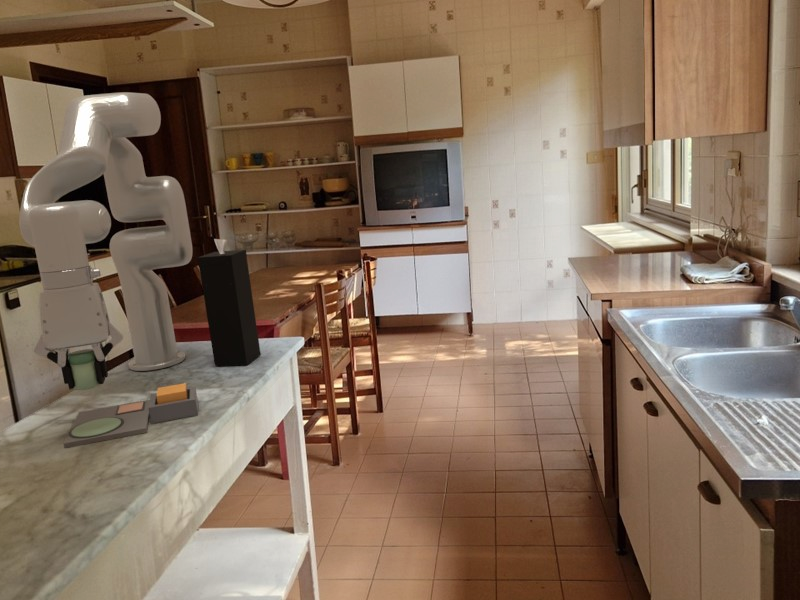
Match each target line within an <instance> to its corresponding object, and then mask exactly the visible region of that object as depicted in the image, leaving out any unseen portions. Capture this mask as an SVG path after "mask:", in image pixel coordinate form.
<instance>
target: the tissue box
mask: <svg viewBox="0 0 800 600" xmlns="http://www.w3.org/2000/svg"><path fill="white" fill-rule="evenodd" d="M213 240H214V243H215V246H216V249H217V251H213V252H210V253H207V254H204V255H201V256H198V257H197V264H198V267H199V274H200V281H201V285H202V292H203V293H202V294H203V299H204V306H205V311H206V312H205V313H206V318H207V324H208V331H209V336H210V337H209V338H210V344H211V349H212V356H213V362H214V366H215V367H225V366H227V367H230V366H231V367H232V366H247V365H248V366H249V365H250V364H251V363H252V362H254V361H255V360H256V359H258V358H259V357H260V356H261V348H260V342H259V333H258V326H257V320H256V319H257V318H256V311H255V306H254V300H253V293H252V292H253V291H252V285H251V278H250V273H249V272H250V270H249V264H248V259H247V258H248V255H247V249H238V250H236V249H235V250H226V247H227V243H228V239H223V238H218V239H217V238H214V239H213Z"/></svg>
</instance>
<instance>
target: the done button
mask: <svg viewBox="0 0 800 600" xmlns="http://www.w3.org/2000/svg"><path fill="white" fill-rule="evenodd" d="M187 388H188V387H187V383H186V382H184V383H178V384H174V385H173V384H172V385H167V386H161V387H160V386H159V387H157V390H156V393H157V396H156V397H157V402H158V404H163V403H169V402H174V401H180V400H185V399H188V393H187Z"/></svg>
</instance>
